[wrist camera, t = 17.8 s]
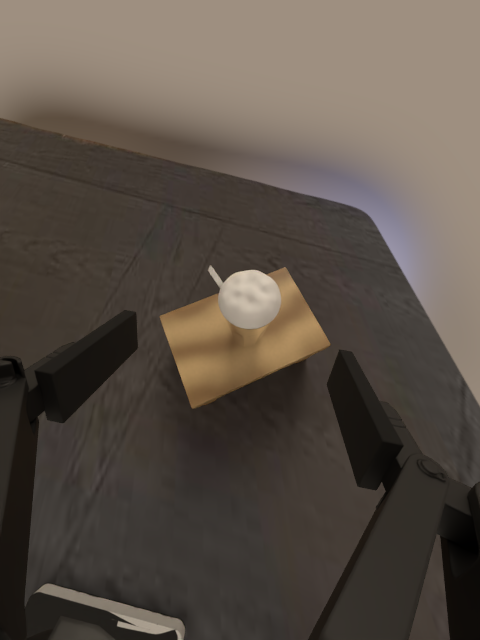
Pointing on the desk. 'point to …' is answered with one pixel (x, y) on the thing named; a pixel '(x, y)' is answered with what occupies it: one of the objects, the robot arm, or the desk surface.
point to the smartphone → (98, 615)
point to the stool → (232, 359)
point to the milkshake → (247, 304)
